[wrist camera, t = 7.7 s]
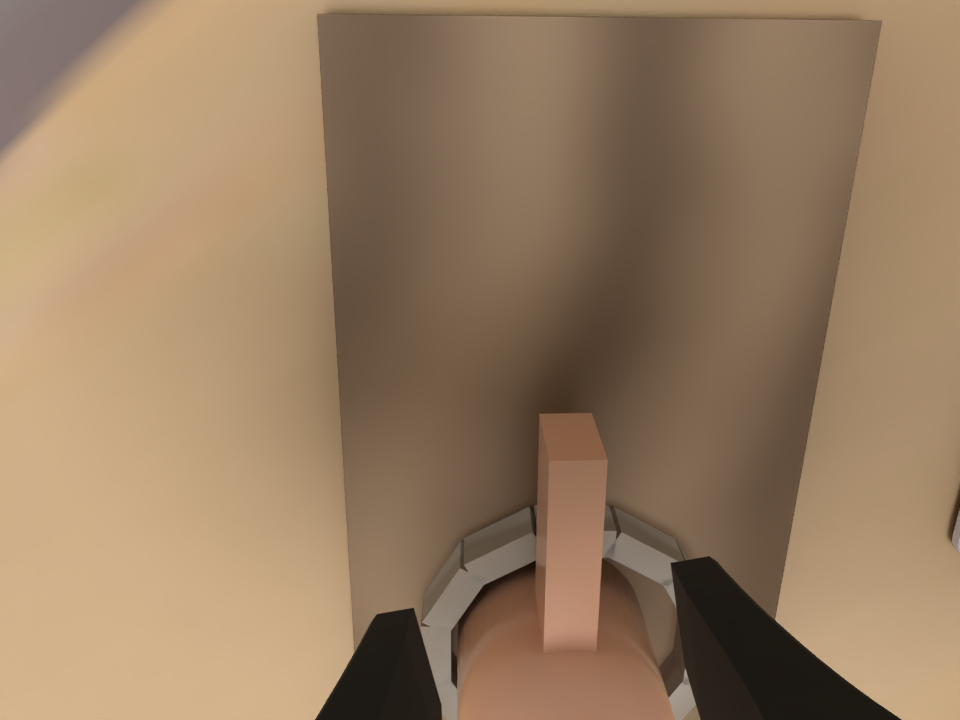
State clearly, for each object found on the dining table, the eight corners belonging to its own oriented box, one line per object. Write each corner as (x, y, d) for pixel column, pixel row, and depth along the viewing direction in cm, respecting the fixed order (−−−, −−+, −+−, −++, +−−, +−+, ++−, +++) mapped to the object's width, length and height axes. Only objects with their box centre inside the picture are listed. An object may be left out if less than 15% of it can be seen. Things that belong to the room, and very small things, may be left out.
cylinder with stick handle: (634, 692, 24) (692, 912, 18) (458, 696, 24) (458, 918, 18) (660, 380, 20) (744, 527, 14) (452, 383, 20) (449, 533, 14)
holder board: (861, 21, 18) (910, 19, 16) (736, 754, 27) (758, 814, 25) (325, 14, 18) (306, 12, 16) (365, 755, 26) (357, 816, 24)
